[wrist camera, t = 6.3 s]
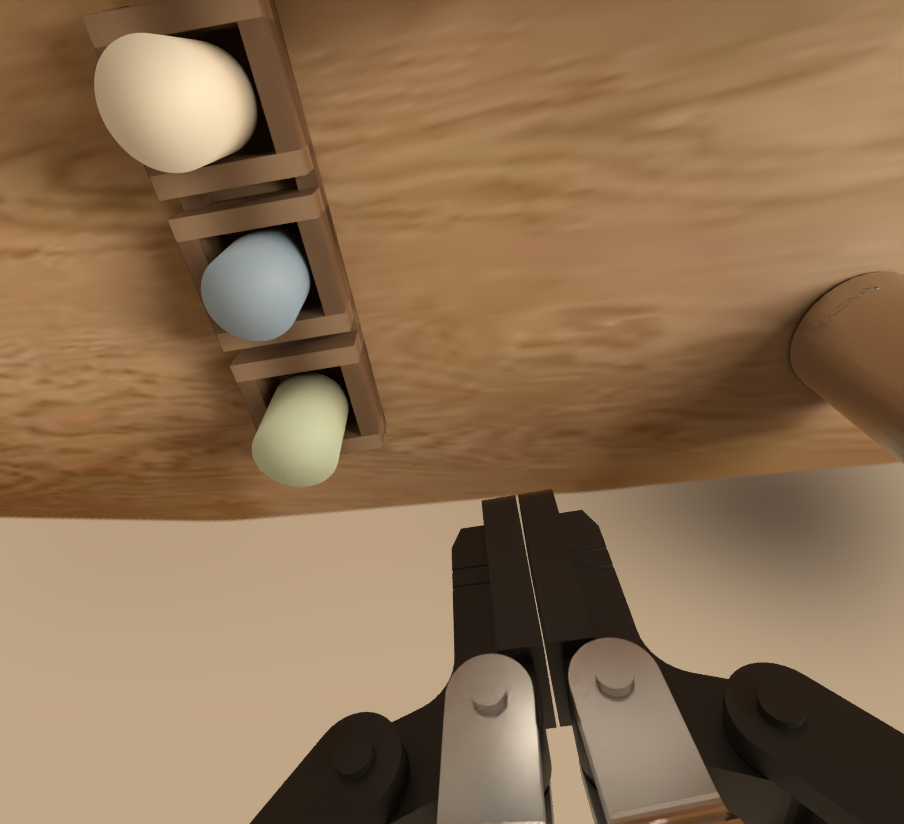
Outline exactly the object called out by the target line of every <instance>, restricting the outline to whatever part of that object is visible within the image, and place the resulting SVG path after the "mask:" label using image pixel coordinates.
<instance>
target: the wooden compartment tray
mask: <svg viewBox="0 0 904 824" xmlns="http://www.w3.org/2000/svg"><path fill="white" fill-rule="evenodd" d="M81 18H82V20H83V23H84V25H85V27H86V30H87V32H88V34H89V37H90V39H91V42H92V44H93V46H94V49H95V51H96V53H97V56H98V58H99V59H100V57H101V55H102V53H103V52H104V50H105V49H106V48H107V47H108V46H109V45H110V44H111V43H112V42H113V41H115V40H117V39H118V38H120V37H122V36H125V35H128V34H133V33H151V34H158V35H165V36H172V37H179V38H186V39H195V38H200V37H205V36H211V35H216V34H221V33H227V32H232V31H237V30H240V33H241V37H242V40H243V43H244V47H245V50H246V53H247V57H248V60H249V63H250V67H251V70H252V73H253V77H254V80H255V83H256V87H257V90H258V93H259V97H260V100H261V103H262V107H263V110H264V113H265V117H266V120H267V123H268V127H269V130H270V133H271V137H272V140H273V143H274V147H275V149H271V150H266V151H260V152H254V153H249V154H243V155H238V156H232V157H227V158H221V159H219V160H216V161H214V162H212V163H209V164H207V165H205V166H203V167H200V168H198V169H196V170H193V171H190V172H185V173H168V172H163V171H159V170H156V169H153V168H151V167H148V166H146V165H144V166H145V168H146V171H147V173H148V175H149V178H150V180H151V183H152V185H153V187H154V190H155V192H156V194H157V197H158V199H159V201H162V200H168V199H174V198H179V199H180V202H181V204H182V207H183V209H184V211H182V212H181V213H179V214H177V215H176V216H174V217H172V218H171V219H169V220H168V222H169V225H170V227H171V230H172V232H173V234H174V237H175V239H176V241H177V244H178V246H179V248H180V251H181V253H182V255H183V258H184V260H185V262H186V265H187V267H188V269H189V272H190V274H191V277H192V279H193V281H194V284H195V286H196V288H197V291H198V293H199V295H200V298H201V300H202V302H203V299H202V295H201V282H202V277H203V274H204V272H205V270H206V268H207V267H208V266H209V264H210V263H211V262H212V261H213V260H214V259H215V258H217V257H218V256H219V255H220V254H221V253H222V252H223V251H224V250H225V249H226V248H228V247H227V244H226V241H225V239H224V236H223V234H229V233H234V232H240V231H246V230H252V229H257V228H263V227H269V226H275V225H281V224H286V223H292V222H297V223H298V227H299V230H300V233H301V237H302V240H303V243H304V247H305V250H306V253H307V257H308V260H309V263H310V267H311V270H312V273H313V277H314V280H315V283H316V287H317V290H318V293H319V297H320V298H315V299H309V300H305V302H304V303H303V305H302V307H301V309H300V311H299V313H298V315H297V317H296V319H295V321H294V323H293V324H292V326H291V327H290V328H289V329H288V331H286V332H285V333H284V334H282V335H281V336H279V337H277V338H275V339H271V340H268V341H249V340H244V339H241V338H238V337H236V336H234V335H232V334H230V333H228V332H227V331H225V330H224V329H222V328H221V327H220V326H219V325H218V324H217V323H216V322H215V321H214V320H213V319H212V317H211V316H210V315H209V313H208V311H207V310H206V312H207V314H208V316H209V319H210V321H211V324H212V326H213V328H214V331H215V333H216V335H217V338H218V340H219V342H220V345H221V347H222V349H223V352H227V351H233V350H239V349H240V351H239V353H238V354H237V356H236V357H235V359H234V360H233V362H232V363H231V365H230V368H231V371H232V373H233V375H234V378H235V380H236V382H237V385H238V387H239V389H240V392H241V394H242V396H243V399H244V401H245V403H246V406H247V408H248V410H249V413H250V415H251V418H252V420H253V422H254V425H255V427H256V429H257V431H258V428H259V426H260V424H261V422H262V420H263V417H264V415H265V413H266V411H267V409H268V406H269V404H270V402H271V400H272V398H273V395H274V393H275V391H276V389H277V387H278V386H279V382H278V379H277V377H276V376H280V375H287V374H293V373H299V372H305V371H311V370H317V369H324V368H330V367H336V366H340V367H341V370H342V373H343V377H344V380H345V383H346V387H347V390H348V393H349V397H350V400H351V403H352V407H353V410H354V411H352V412H348V417H347V422H346V427H345V431H344V436H343V441H342V445H341V450H340V454H346V453H353V452H359V451H366V450H372V449H379V448H382V447H383V437H384V433H386V421H385V417H384V413H383V409H382V406H381V402H380V398H379V394H378V391H377V387H376V383H375V379H374V376H373V372H372V368H371V364H370V360H369V357H368V353H367V349H366V345H365V342H364V338H363V334H362V330H361V327H360V323H359V319H358V315H357V312H356V308H355V304H354V300H353V296H352V293H351V289H350V285H349V281H348V278H347V274H346V270H345V266H344V263H343V259H342V255H341V251H340V247H339V244H338V240H337V236H336V232H335V229H334V225H333V221H332V217H331V214H330V210H329V206H328V202H327V199H326V195H325V191H324V187H323V183H322V180H321V176H320V172H319V168H318V165H317V161H316V157H315V153H314V150H313V146H312V142H311V138H310V135H309V131H308V127H307V123H306V119H305V116H304V112H303V108H302V104H301V101H300V97H299V93H298V89H297V86H296V82H295V78H294V74H293V71H292V67H291V63H290V59H289V55H288V52H287V48H286V44H285V40H284V37H283V33H282V29H281V25H280V22H279V18H278V14H277V10H276V6H275V3H274V0H165V1H160V2H154V3H149V4H144V5H139V6H134V7H128V6H125V7H120V8H115V9H110V10H105V11H103V12H102V13H97V14H92V15H87V16H82V17H81ZM292 177H295V179H296V183H297V186H298V188H292V189H286V190H281V191H275V192H269V193H264V194H258V195H252V196H247V197H241V198H235V199H230V200H224V201H218V202H212V203H211V202H210V199H209V196H208V194H207V193H208V192H213V191H219V190H225V189H230V188H236V187H242V186H247V185H253V184H258V183H264V182H270V181H275V180H281V179H287V178H292ZM203 305H204V303H203ZM204 307H205V305H204ZM205 309H206V308H205Z"/></svg>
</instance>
